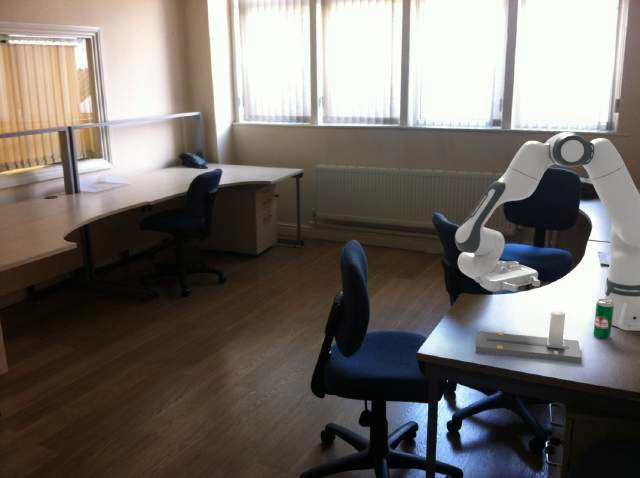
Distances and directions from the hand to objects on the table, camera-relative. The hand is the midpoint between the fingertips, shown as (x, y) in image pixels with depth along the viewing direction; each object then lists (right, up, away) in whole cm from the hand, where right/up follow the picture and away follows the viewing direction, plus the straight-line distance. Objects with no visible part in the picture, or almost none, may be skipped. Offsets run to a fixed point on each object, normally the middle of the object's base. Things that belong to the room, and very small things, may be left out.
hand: (527, 286), depth 198 cm
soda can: (+25, -17, +5) cm, 31 cm away
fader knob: (+6, -17, -7) cm, 19 cm away
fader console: (-1, -19, -4) cm, 20 cm away
